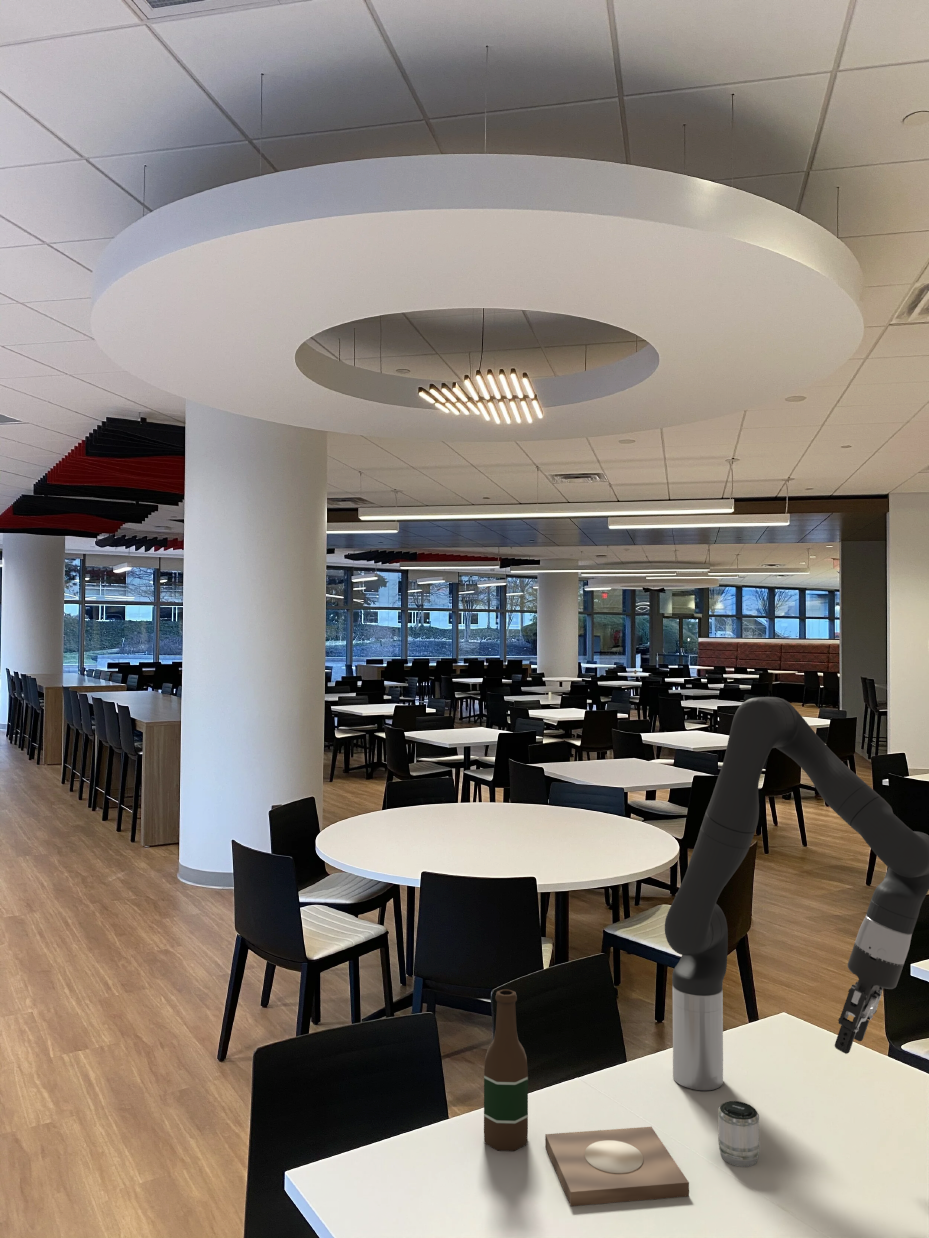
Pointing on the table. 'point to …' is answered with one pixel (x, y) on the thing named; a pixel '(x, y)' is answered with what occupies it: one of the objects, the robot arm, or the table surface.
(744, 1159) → the camera lens
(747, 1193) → the table surface
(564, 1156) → the display stand
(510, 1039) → the beer bottle
